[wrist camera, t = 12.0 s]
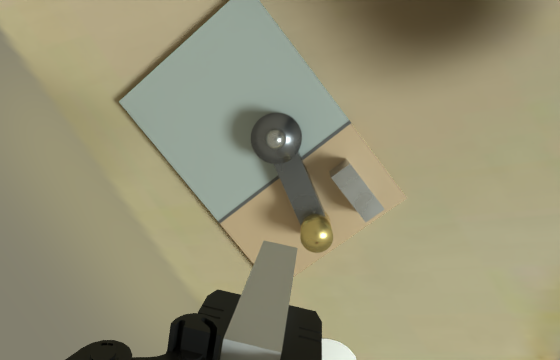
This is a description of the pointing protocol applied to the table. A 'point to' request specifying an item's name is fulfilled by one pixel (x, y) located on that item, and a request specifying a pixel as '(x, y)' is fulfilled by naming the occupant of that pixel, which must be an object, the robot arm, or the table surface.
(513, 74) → the table surface
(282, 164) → the swing bar
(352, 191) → the block
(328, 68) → the table surface
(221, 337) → the robot arm
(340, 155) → the door board
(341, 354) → the wineglass
